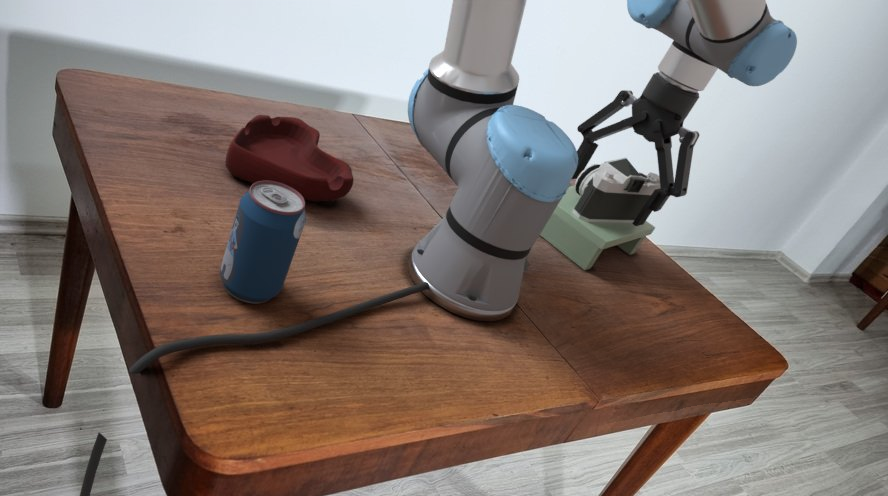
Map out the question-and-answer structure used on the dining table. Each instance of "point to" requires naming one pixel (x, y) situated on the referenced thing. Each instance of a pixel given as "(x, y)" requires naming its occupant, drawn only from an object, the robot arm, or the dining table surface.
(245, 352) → the dining table surface
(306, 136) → the ashtray
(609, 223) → the shelf
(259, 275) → the soda can
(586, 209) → the camera
